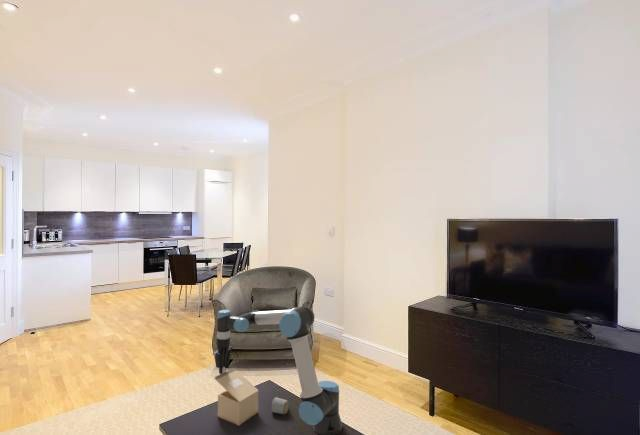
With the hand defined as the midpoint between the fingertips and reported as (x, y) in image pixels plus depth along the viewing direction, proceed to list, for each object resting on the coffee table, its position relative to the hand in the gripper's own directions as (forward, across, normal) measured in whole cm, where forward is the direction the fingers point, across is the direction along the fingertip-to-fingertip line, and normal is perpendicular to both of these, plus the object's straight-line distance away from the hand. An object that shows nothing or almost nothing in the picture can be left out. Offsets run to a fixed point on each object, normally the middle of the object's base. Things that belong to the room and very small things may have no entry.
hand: (222, 378), depth 202 cm
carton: (+17, 0, +13) cm, 21 cm away
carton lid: (+1, 0, +11) cm, 11 cm away
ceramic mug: (+17, -16, +31) cm, 39 cm away
